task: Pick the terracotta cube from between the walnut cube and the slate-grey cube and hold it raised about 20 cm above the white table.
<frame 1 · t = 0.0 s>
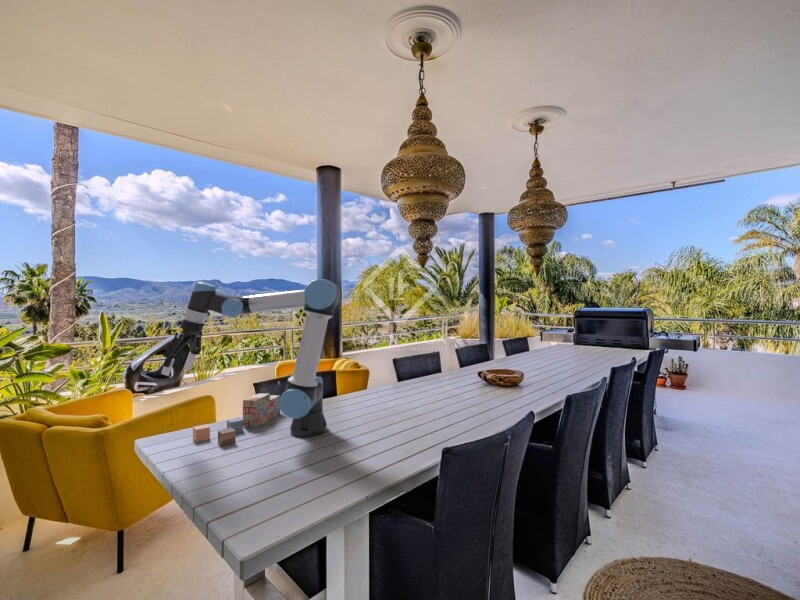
hand: (176, 371, 142), 28 cm above the table, tool tilted 20°, fingers open, 13 cm apart
terracotta cube: (201, 439, 145), on the table
walnut cube: (226, 443, 140), on the table
stack of blocks: (262, 420, 170), on the table
slate cube: (235, 431, 154), on the table
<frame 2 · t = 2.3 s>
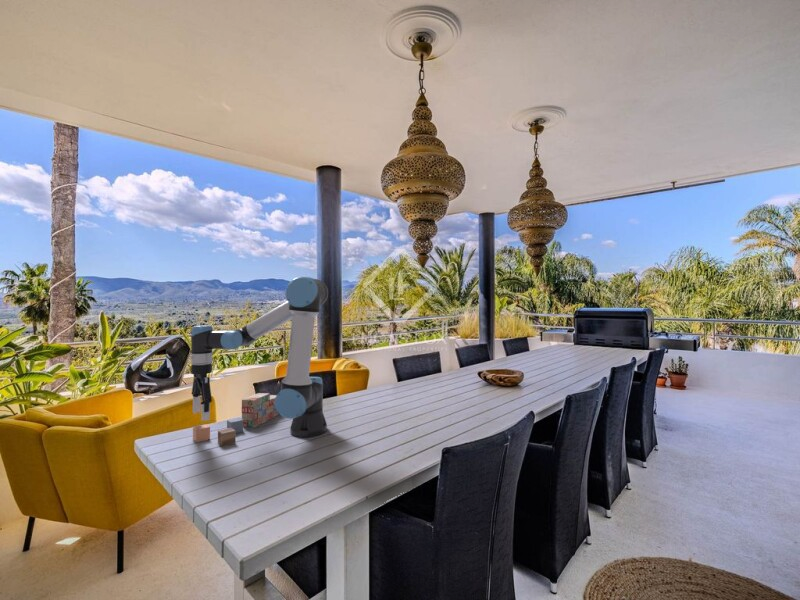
hand: (201, 416, 145), 9 cm above the table, tool pointing down, fingers open, 13 cm apart
nothing on the table moved.
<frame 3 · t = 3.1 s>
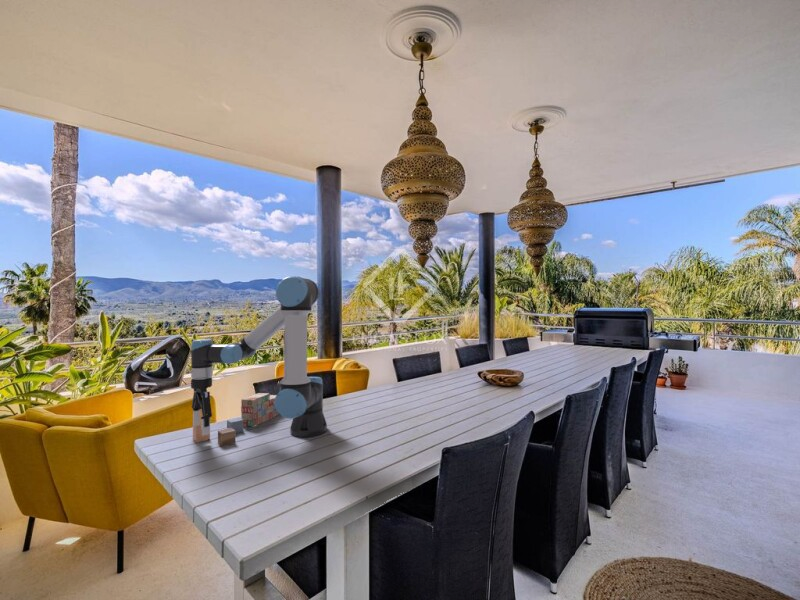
hand: (201, 430, 145), 3 cm above the table, tool pointing down, fingers open, 13 cm apart
nothing on the table moved.
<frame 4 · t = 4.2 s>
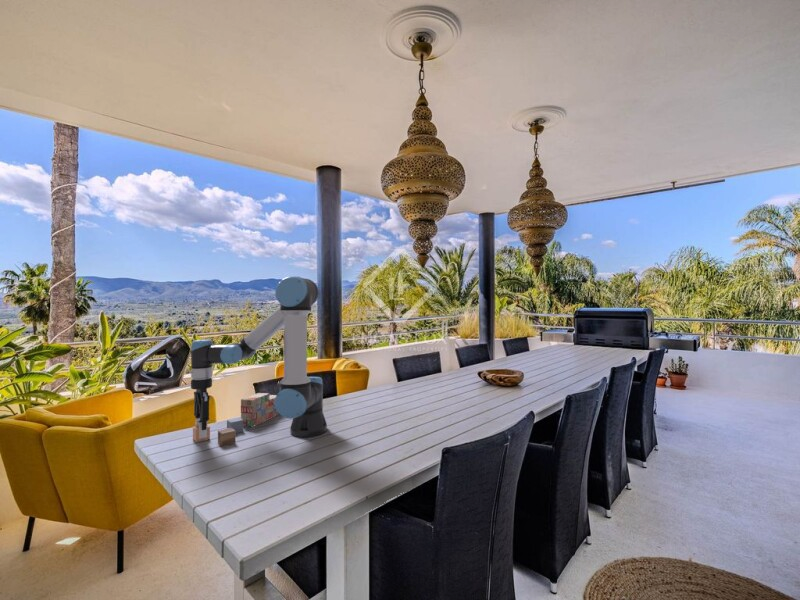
hand: (201, 435, 145), 1 cm above the table, tool pointing down, fingers closed on terracotta cube, 5 cm apart
terracotta cube: (201, 439, 145), on the table, touching gripper
everything else where it was.
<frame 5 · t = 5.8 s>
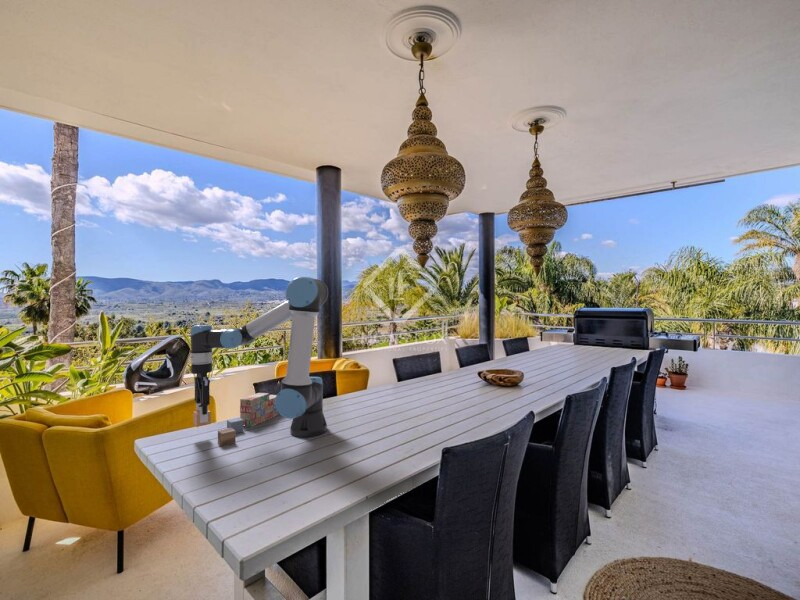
hand: (202, 420, 145), 7 cm above the table, tool pointing down, fingers closed on terracotta cube, 5 cm apart
terracotta cube: (202, 424, 145), point 6 cm above the table, touching gripper
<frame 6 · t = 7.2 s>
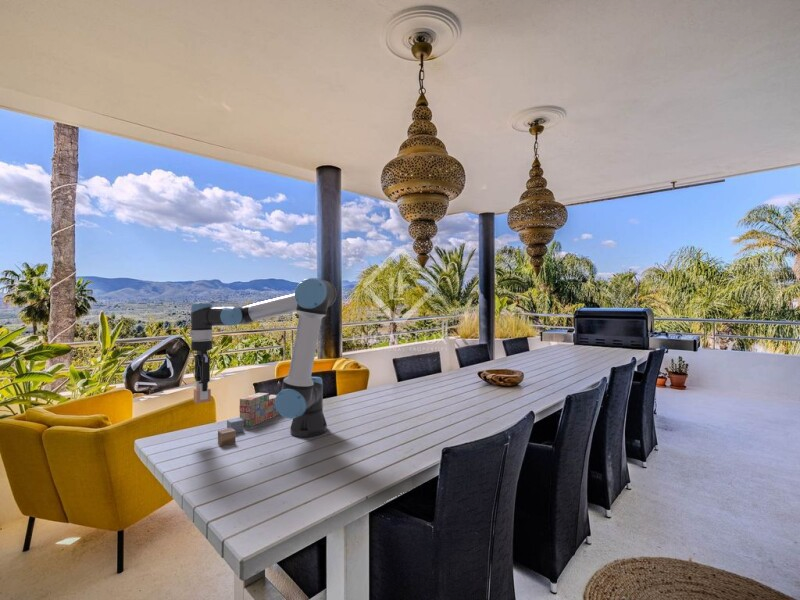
hand: (202, 397, 145), 17 cm above the table, tool pointing down, fingers closed on terracotta cube, 5 cm apart
terracotta cube: (202, 401, 145), point 15 cm above the table, touching gripper
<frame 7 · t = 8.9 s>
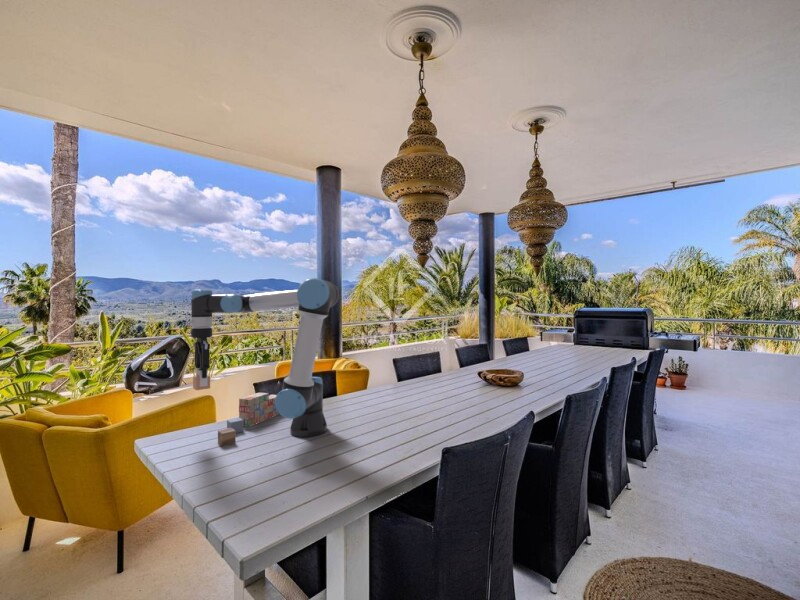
hand: (201, 384, 146), 22 cm above the table, tool pointing down, fingers closed on terracotta cube, 5 cm apart
terracotta cube: (201, 388, 145), point 20 cm above the table, touching gripper
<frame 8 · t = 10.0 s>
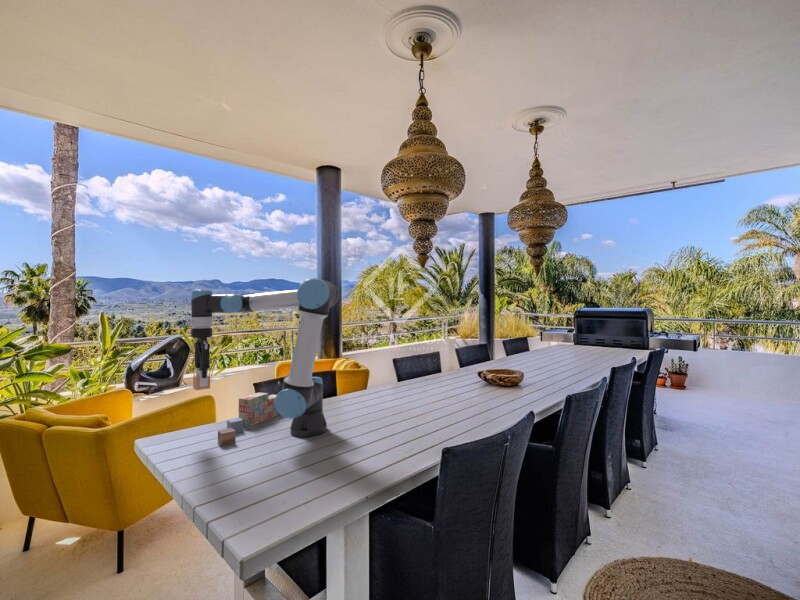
hand: (201, 384, 146), 22 cm above the table, tool pointing down, fingers closed on terracotta cube, 5 cm apart
terracotta cube: (201, 388, 145), point 20 cm above the table, touching gripper
at the end: terracotta cube point 20.4 cm above the table; walnut cube moved 0.1 cm from its start; slate cube moved 0.1 cm from its start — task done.
